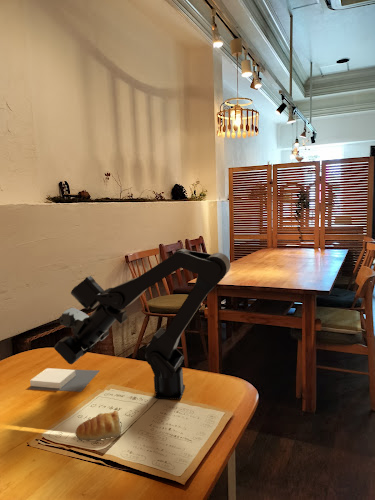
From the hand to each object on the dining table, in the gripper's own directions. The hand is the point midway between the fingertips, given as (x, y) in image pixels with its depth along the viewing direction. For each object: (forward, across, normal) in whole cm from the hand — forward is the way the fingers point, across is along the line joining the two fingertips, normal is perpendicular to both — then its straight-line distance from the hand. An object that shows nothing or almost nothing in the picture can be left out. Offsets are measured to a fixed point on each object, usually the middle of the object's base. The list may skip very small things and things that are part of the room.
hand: (66, 359), depth 100 cm
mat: (+6, -1, +4) cm, 7 cm away
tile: (+4, 0, +4) cm, 6 cm away
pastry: (-8, +18, +19) cm, 28 cm away
